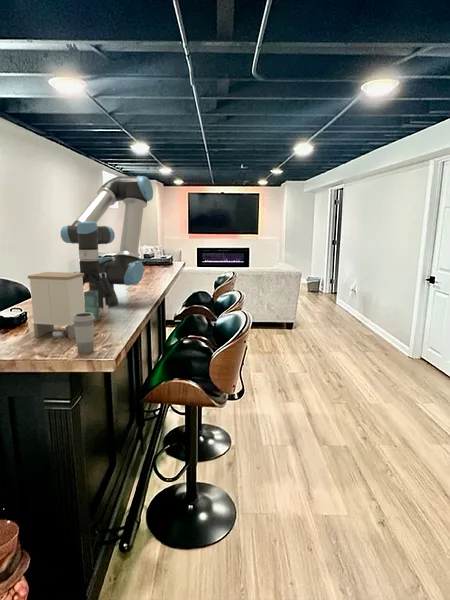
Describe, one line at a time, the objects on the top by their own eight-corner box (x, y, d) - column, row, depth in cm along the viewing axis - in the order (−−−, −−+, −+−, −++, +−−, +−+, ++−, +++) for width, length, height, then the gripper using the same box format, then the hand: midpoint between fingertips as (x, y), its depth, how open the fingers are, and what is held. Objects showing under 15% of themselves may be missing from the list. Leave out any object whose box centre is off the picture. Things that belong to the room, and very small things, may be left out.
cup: (93, 354, 120) (91, 317, 118) (71, 355, 120) (68, 317, 117) (99, 347, 127) (97, 311, 125) (78, 347, 127) (75, 312, 124)
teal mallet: (90, 318, 165) (88, 290, 163) (99, 318, 164) (97, 291, 162) (64, 331, 145) (62, 299, 143) (74, 331, 145) (72, 300, 143)
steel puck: (57, 334, 142) (57, 327, 141) (70, 335, 141) (69, 328, 140) (49, 338, 137) (48, 331, 136) (62, 339, 136) (61, 332, 136)
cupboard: (51, 329, 148) (46, 271, 143) (87, 331, 146) (83, 273, 141) (33, 337, 137) (27, 275, 133) (72, 339, 135) (67, 277, 131)
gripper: (56, 260, 156) (60, 312, 160) (113, 261, 152) (115, 315, 157) (66, 258, 163) (70, 308, 167) (120, 259, 160) (123, 311, 164)
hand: (92, 312), depth 162 cm, fingers open, 12 cm apart
